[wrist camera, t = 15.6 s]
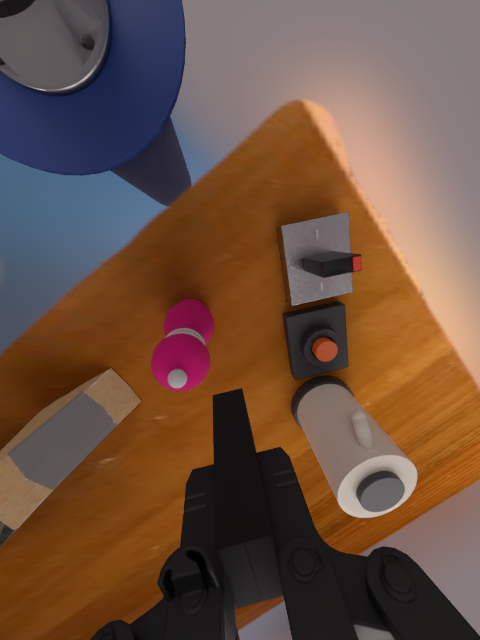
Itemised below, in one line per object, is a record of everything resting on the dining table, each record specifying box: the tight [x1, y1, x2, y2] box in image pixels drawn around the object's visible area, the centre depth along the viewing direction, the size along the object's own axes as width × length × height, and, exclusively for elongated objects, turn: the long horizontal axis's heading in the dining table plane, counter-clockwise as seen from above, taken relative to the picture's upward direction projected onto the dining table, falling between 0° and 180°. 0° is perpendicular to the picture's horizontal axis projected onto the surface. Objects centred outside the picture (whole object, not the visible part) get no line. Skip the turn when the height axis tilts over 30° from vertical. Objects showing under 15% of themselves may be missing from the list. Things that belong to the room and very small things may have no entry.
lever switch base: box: [276, 212, 353, 306], centre depth 39 cm, size 12×10×3 cm
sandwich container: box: [0, 368, 141, 530], centre depth 37 cm, size 9×15×15 cm, turn 120°
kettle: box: [291, 376, 417, 518], centre depth 41 cm, size 17×12×19 cm
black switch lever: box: [303, 251, 361, 278], centre depth 34 cm, size 5×2×7 cm, turn 101°
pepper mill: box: [151, 298, 214, 391], centre depth 32 cm, size 7×7×20 cm
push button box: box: [283, 301, 348, 380], centre depth 43 cm, size 12×10×4 cm
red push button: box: [312, 337, 338, 362], centre depth 41 cm, size 4×4×2 cm
